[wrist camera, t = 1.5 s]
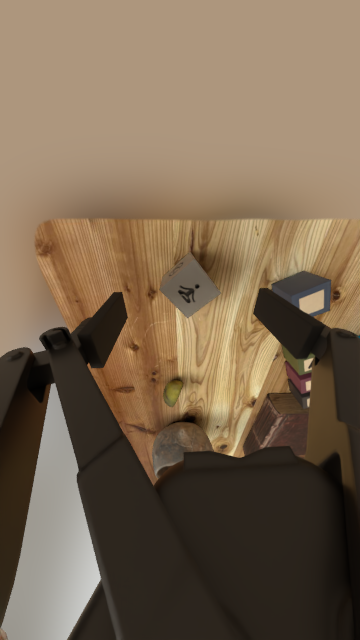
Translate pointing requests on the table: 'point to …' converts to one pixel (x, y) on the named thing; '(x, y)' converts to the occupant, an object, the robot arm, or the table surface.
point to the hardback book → (279, 425)
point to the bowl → (177, 445)
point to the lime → (172, 392)
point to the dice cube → (188, 286)
